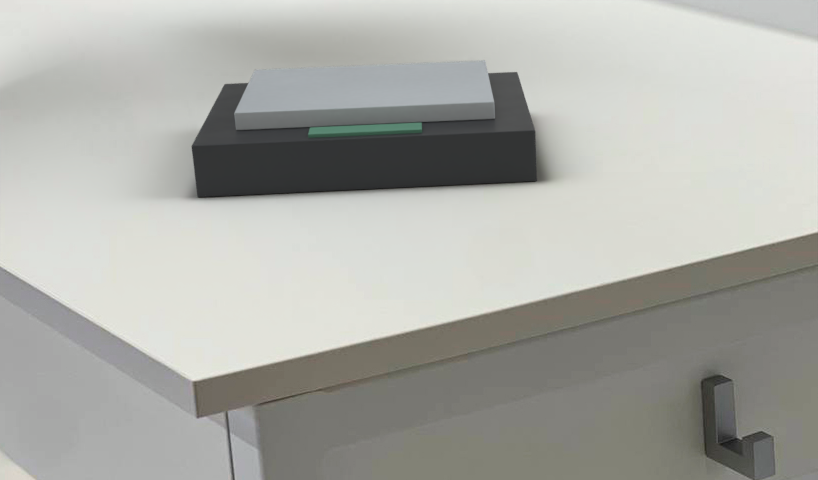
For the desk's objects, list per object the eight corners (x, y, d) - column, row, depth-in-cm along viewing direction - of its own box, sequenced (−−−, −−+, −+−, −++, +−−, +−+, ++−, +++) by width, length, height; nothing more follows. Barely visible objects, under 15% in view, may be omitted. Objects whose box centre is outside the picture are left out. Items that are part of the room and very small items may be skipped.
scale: (197, 197, 86) (189, 126, 84) (229, 128, 100) (222, 67, 99) (537, 181, 87) (534, 111, 86) (519, 115, 102) (516, 55, 101)
